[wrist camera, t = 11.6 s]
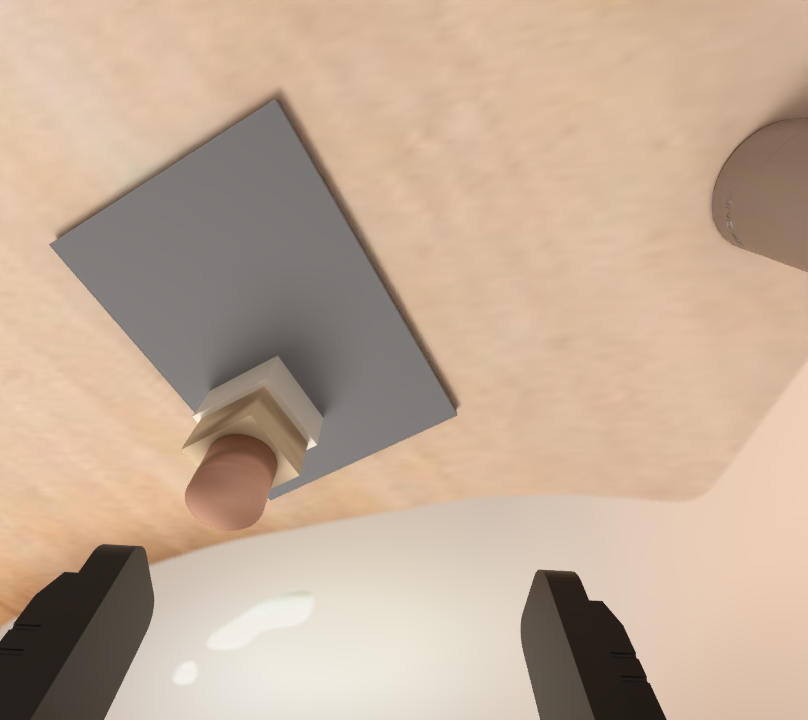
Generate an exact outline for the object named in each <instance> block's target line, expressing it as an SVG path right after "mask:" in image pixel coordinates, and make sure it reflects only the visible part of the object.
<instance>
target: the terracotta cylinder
mask: <svg viewBox="0 0 808 720" xmlns="http://www.w3.org/2000/svg"><path fill="white" fill-rule="evenodd" d="M276 471H277V459H276V456H275V454H274V452H273V451H272V450H271V448H270V447H269V446H268V445H267V444H265V443H264V442H263V441H261V440H259V439H257V438H255V437H253V436H249V435H245V434H231V435H226V436H223V437H221V438H219V439H217V440H216V441H215V442H214V443H213V444H212V445H211V446H210V448H209V449H208V451H207V453H206V455H205V456H204V458H203V460H202V462H201V464H200V465H199V467H198V469H197V471H196V472H195V474H194V476H193V478H192V480H191V481H190V483H189V485H188V487H187V489H186V492H185V501H186V505H187V507H188V509H189V511H190V512H191V513H192V515H193V516H194V517H195V518H196V519H198V520H199V521H200V522H202V523H203V524H205V525H207V526H210V527H212V528H215V529H219V530H227V531H234V530H241V529H244V528H247V527H249V526H251V525H253V524H254V523H256V522H257V521H258V520H259V518H260V517H261V515H262V513H263V511H264V508H265V505H266V502H267V499H268V496H269V493H270V490H271V487H272V484H273V480H274V477H275V474H276Z"/></svg>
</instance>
